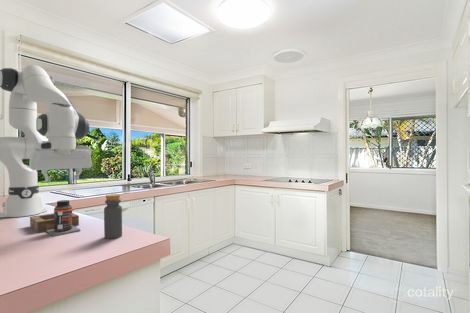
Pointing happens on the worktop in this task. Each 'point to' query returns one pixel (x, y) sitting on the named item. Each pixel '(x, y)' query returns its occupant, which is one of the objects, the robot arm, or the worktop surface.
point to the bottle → (113, 217)
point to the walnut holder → (48, 222)
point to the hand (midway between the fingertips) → (62, 180)
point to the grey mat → (56, 233)
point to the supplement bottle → (63, 216)
